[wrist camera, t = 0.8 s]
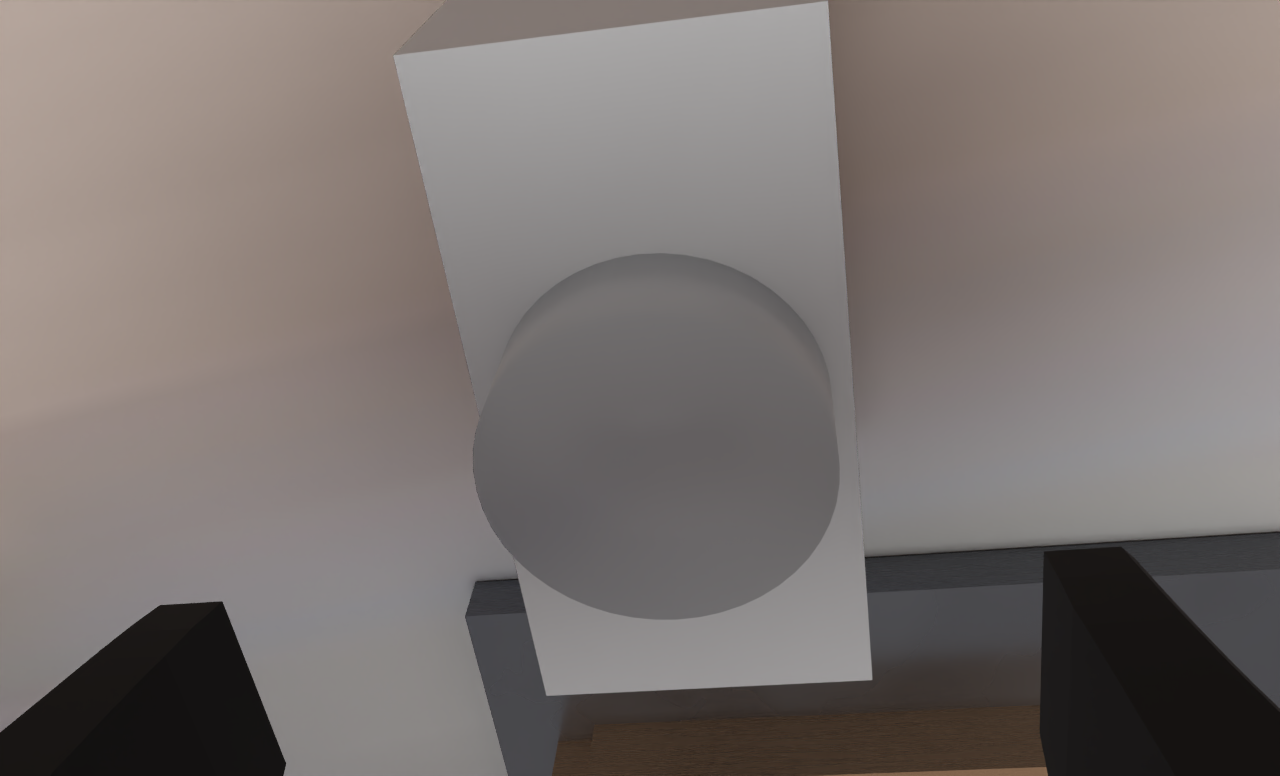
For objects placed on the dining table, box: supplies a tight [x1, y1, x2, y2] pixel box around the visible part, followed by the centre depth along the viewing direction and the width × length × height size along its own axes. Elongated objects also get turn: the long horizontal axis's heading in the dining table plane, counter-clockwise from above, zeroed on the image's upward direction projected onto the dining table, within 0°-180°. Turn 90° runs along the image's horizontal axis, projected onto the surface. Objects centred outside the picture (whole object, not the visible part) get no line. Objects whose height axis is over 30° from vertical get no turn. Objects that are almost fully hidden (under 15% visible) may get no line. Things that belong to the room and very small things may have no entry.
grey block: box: [393, 0, 872, 696], centre depth 17 cm, size 4×9×8 cm, turn 8°
